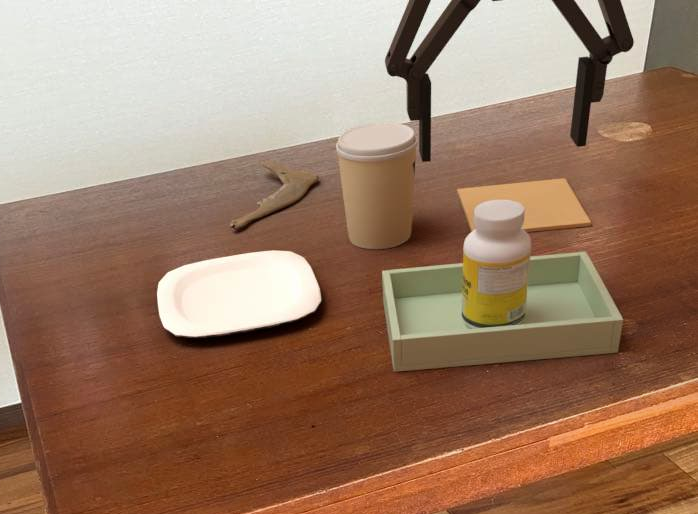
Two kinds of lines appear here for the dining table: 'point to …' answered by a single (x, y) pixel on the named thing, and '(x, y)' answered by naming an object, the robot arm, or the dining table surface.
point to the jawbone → (280, 192)
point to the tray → (503, 341)
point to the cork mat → (531, 203)
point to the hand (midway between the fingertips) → (500, 149)
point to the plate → (237, 294)
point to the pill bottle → (496, 266)
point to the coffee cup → (378, 183)
